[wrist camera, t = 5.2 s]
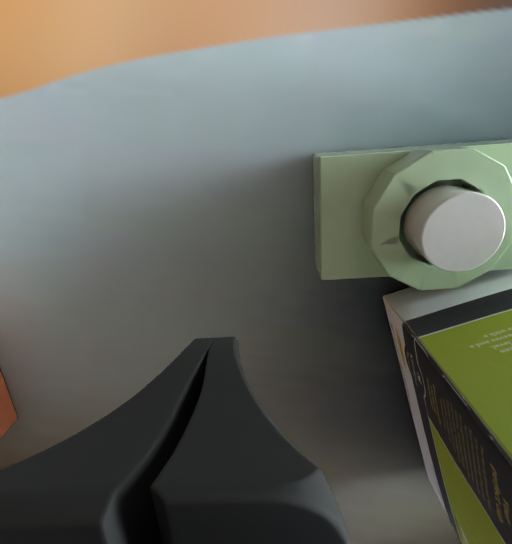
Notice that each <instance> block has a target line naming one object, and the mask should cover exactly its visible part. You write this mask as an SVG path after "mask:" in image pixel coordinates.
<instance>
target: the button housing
mask: <svg viewBox="0 0 512 544" xmlns="http://www.w3.org/2000/svg"><path fill="white" fill-rule="evenodd" d="M17 418H18V417H17V414H16V412H15V409H14V406H13V403H12V401H11V398H10V395H9V392H8V390H7V387H6V384H5V381H4V379H3V376H2V373H1V370H0V438H1V437H2V436H3V435H4V434H5V432H6V431H7V430H8V429H9V428H10V427H11V425H12V424H13V423H14V422H15V421H16V420H17Z"/></svg>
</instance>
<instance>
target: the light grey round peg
mask: <svg viewBox="0 0 512 544" xmlns="http://www.w3.org/2000/svg"><path fill="white" fill-rule="evenodd" d="M505 227H506V225H505V217H504V214H503V211H502V209H501V207H500V206H499V205H498V203H497V202H496V201H495V200H494V199H492V198H491V197H489V196H487V195H485V194H482V193H478V192H475V191H471V190H468V189H464V188H461V187H457V186H453V185H442V186H437V187H434V188H431V189H429V190H427V191H425V192H424V193H422V194H421V195H420V196H418V197H417V198H416V199H415V200H414V202H413V203H412V204H411V206H410V207H409V209H408V211H407V213H406V216H405V219H404V235H405V238H406V240H407V242H408V244H409V245H410V247H411V248H412V249H413V250H415V251H416V252H417V253H418V254H419V255H421V256H422V257H423V258H424V259H426V260H427V261H428V262H429V263H431V264H432V265H433V266H435V267H436V268H438V269H441V270H443V271H447V272H464V271H468V270H471V269H474V268H476V267H478V266H480V265H482V264H483V263H485V262H486V261H487V260H489V259H490V258H491V257H492V256H493V255H494V253H495V252H496V251H497V250H498V248H499V247H500V245H501V243H502V240H503V238H504V234H505Z"/></svg>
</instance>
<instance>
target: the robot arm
mask: <svg viewBox="0 0 512 544" xmlns="http://www.w3.org/2000/svg"><path fill="white" fill-rule="evenodd" d="M0 544H350V541H349V536H348V532H347V529H346V526H345V522H344V520H343V517H342V514H341V511H340V509H339V506H338V504H337V502H336V500H335V497H334V495H333V493H332V491H331V489H330V487H329V485H328V483H327V481H326V479H325V477H324V475H323V473H322V471H321V470H320V469H319V468H317V467H316V466H315V465H314V464H313V463H311V462H310V461H309V460H308V459H307V458H306V457H305V456H304V455H302V454H301V453H300V452H299V451H298V450H297V449H296V448H295V447H294V446H293V445H292V444H291V443H290V442H289V441H288V440H287V439H286V437H285V436H284V435H283V434H282V433H281V431H280V430H279V429H278V428H277V427H276V425H275V424H274V423H273V422H272V421H271V419H270V418H269V417H268V415H267V414H266V412H265V411H264V409H263V408H262V406H261V405H260V403H259V402H258V400H257V398H256V396H255V395H254V393H253V391H252V389H251V387H250V385H249V383H248V381H247V379H246V376H245V374H244V371H243V368H242V366H241V363H240V357H239V346H238V340H237V339H236V338H235V337H219V338H197V339H195V340H193V341H192V342H191V343H190V345H189V346H188V347H187V348H186V349H185V350H184V351H183V352H182V353H181V354H180V355H179V356H178V357H177V358H176V359H175V360H174V361H173V362H172V363H171V364H170V365H169V366H168V367H167V368H166V369H165V370H164V371H163V372H162V373H160V374H159V375H158V376H157V377H156V378H155V379H154V380H152V381H151V382H150V383H149V384H148V385H147V386H146V387H145V388H143V389H142V390H141V391H140V392H139V393H137V394H136V395H135V396H134V397H132V398H131V399H130V400H128V401H127V402H126V403H124V404H123V405H121V406H120V407H119V408H117V409H116V410H114V411H113V412H111V413H110V414H108V415H107V416H105V417H104V418H102V419H100V420H99V421H97V422H95V423H94V424H92V425H91V426H89V427H87V428H86V429H84V430H82V431H81V432H79V433H77V434H75V435H74V436H72V437H70V438H68V439H66V440H64V441H62V442H61V443H59V444H57V445H55V446H53V447H51V448H49V449H47V450H45V451H43V452H40V453H38V454H36V455H34V456H32V457H30V458H27V459H25V460H23V461H20V462H18V463H16V464H13V465H11V466H9V467H6V468H4V469H2V470H0Z"/></svg>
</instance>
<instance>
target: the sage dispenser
mask: <svg viewBox="0 0 512 544" xmlns="http://www.w3.org/2000/svg"><path fill="white" fill-rule="evenodd" d="M313 182H314V238H315V264H316V267H317V269H318V272H319V275H320V277H321V280H337V279H355V278H372V277H389V276H390V277H392V278H394V279H396V280H398V281H400V282H402V283H405V284H407V285H409V286H411V287H413V288H415V289H417V290H438V289H454V288H458V287H460V286H462V285H464V284H466V283H467V282H469V281H471V280H473V279H475V278H477V277H479V276H480V275H482V274H484V273H486V272H488V271H493V270H510V269H512V139H505V140H491V141H478V142H464V143H450V144H437V145H423V146H409V147H396V148H382V149H368V150H355V151H341V152H327V153H314V154H313ZM442 185H453V186H457V187H461V188H464V189H468V190H471V191H475V192H478V193H482V194H485V195H487V196H489V197H491V198H492V199H494V200H495V201H496V202H497V203H498V205H499V206H500V207H501V209H502V211H503V214H504V217H505V225H506V227H505V234H504V238H503V240H502V243H501V245H500V247H499V248H498V250H497V251H496V252H495V253H494V255H493V256H492V257H491V258H490V259H489V260H487V261H486V262H485V263H483V264H482V265H480V266H478V267H476V268H474V269H471V270H468V271H464V272H447V271H443V270H441V269H438V268H436V267H435V266H433V265H432V264H431V263H429V262H428V261H427V260H426V259H424V258H423V257H422V256H421V255H419V254H418V253H417V252H416V251H415V250H413V249H412V248H411V247H410V245H409V244H408V242H407V240H406V238H405V235H404V219H405V216H406V213H407V211H408V209H409V207H410V206H411V204H412V203H413V202H414V200H415V199H416V198H417V197H418V196H420V195H421V194H422V193H424V192H425V191H427V190H429V189H431V188H434V187H437V186H442Z"/></svg>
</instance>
